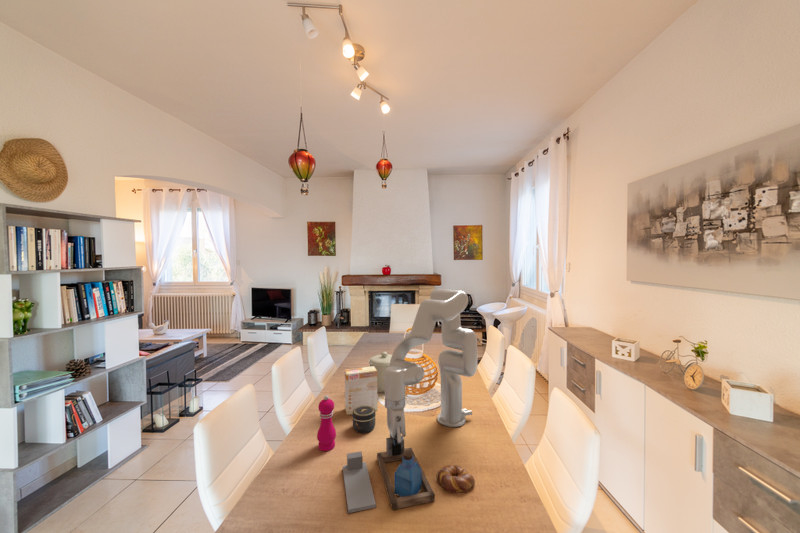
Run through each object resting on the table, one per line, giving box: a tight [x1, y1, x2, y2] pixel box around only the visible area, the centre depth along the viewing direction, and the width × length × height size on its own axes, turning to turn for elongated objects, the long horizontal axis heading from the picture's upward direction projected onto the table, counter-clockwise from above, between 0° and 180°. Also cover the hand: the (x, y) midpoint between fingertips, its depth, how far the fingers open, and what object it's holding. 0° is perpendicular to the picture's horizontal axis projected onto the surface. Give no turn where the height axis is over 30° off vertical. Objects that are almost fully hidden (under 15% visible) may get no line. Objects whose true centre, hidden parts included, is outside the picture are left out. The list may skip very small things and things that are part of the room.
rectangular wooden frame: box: [376, 435, 436, 511], centre depth 104 cm, size 13×24×7 cm, turn 15°
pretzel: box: [436, 464, 475, 493], centre depth 103 cm, size 12×11×4 cm
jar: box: [351, 406, 376, 434], centre depth 136 cm, size 10×10×8 cm
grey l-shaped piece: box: [342, 451, 377, 514], centre depth 101 cm, size 8×20×5 cm, turn 15°
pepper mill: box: [316, 394, 337, 452], centre depth 122 cm, size 7×7×20 cm
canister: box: [368, 351, 392, 394], centre depth 177 cm, size 18×18×21 cm
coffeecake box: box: [344, 366, 378, 416], centre depth 153 cm, size 15×7×20 cm, turn 108°
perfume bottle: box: [393, 450, 423, 497], centre depth 99 cm, size 6×6×12 cm
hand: (395, 451), depth 115 cm, fingers closed on rectangular wooden frame, 3 cm apart
